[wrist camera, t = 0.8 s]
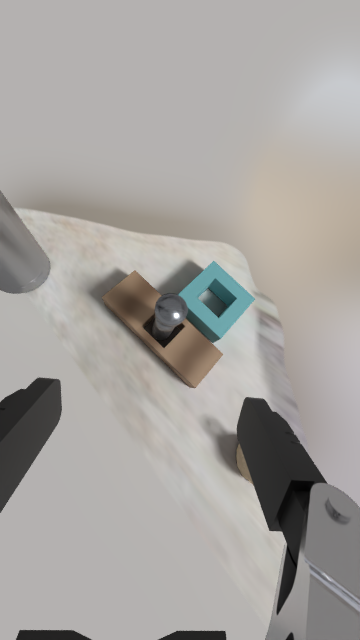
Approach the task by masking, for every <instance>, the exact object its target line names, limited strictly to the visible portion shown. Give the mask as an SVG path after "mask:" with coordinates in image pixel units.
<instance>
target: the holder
mask: <svg viewBox="0 0 360 640" xmlns="http://www.w3.org/2000/svg"><path fill="white" fill-rule="evenodd" d="M207 288H209V289H210V290H211V291H212V292H214V293H215V294H216V295H217V296H218V297H219V298H220V299H221V300H222V301H223V302H224V303H225V304H226V305H227V306H228V307H227V308H226V309H225V310H224V311H223V312H222V313H221V314H220V316H219V317H217V316H216V315H215V314H214V313H213V312H212V311H211V310H210V309H209V308H208V307H206V306H205V305H204V304H203V303H202V302H201V301H200V300H199V299H198V297H199V296H200V295H201V294H202V293H203V292H204V291H205V290H206V289H207ZM178 295H179V296H181V297H182V298H183V299H184V300H185V302H186V304H187V307H188V313H187V316H186V318H187V319H188V320H189V321H190V322H191V323H192V324H193V325H195V326H196V327H197V328H198V329H199V330H200V331H201V332H202V333H203V334H204V335H205V336H206V337H207V338H208V339H209V340H210V341H211V342H212V343H213V342H215V341H217V340H219V339H221V338H222V337H223V336H224V334H225V333H226V332H227V331H228V330H229V329H230V328H231V326H232V325H233V324H234V323H235V322H236V321H237V319H238V318H239V317H240V316H241V315H242V314H243V313H244V311H245V310H246V309H247V308H248V307H249V306H250V304H251V303H252V302H253V301H254V300H255V298H254V297H252V296H251V295H250V294H249V293H248V292H247V291H246V290H245V289H244V288H243V287H242V286H241V285H239V284H238V283H237V282H236V281H235V280H234V279H233V278H232V277H231V276H230V275H229V274H227V273H226V272H225V271H224V270H223V269H222V268H221V267H220V266H219V265H218V264H217V263H216V262H214V261H213V262H212V263H211V264H210V265H209V266H208V267H207V268H206V269H205V270H204V271H202V272H201V273H200V274H199V275H198V276H197V277H196V278H195V279H194V280H193V281H192V282H191V283H190V284H189V285H188V286H187V287H186V288H184V289H183V290H182V291H181V292H180V293H179V294H178Z"/></svg>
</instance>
